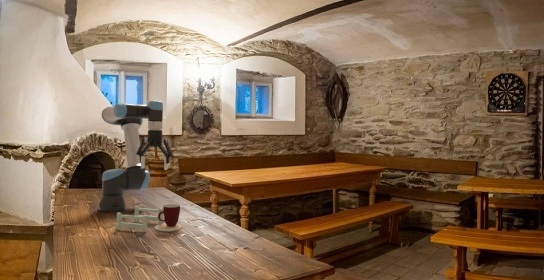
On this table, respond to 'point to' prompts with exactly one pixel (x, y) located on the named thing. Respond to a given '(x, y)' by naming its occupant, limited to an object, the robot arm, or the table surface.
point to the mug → (170, 214)
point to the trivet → (165, 228)
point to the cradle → (137, 217)
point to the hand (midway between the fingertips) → (154, 168)
